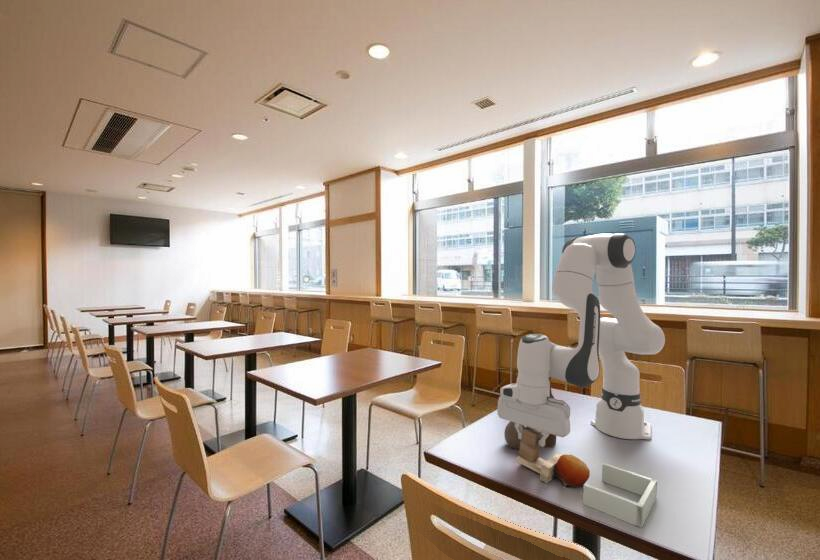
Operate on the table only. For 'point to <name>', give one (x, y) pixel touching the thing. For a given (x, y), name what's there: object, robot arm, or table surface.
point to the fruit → (572, 471)
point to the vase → (512, 435)
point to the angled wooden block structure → (536, 455)
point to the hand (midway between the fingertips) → (531, 442)
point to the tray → (620, 505)
